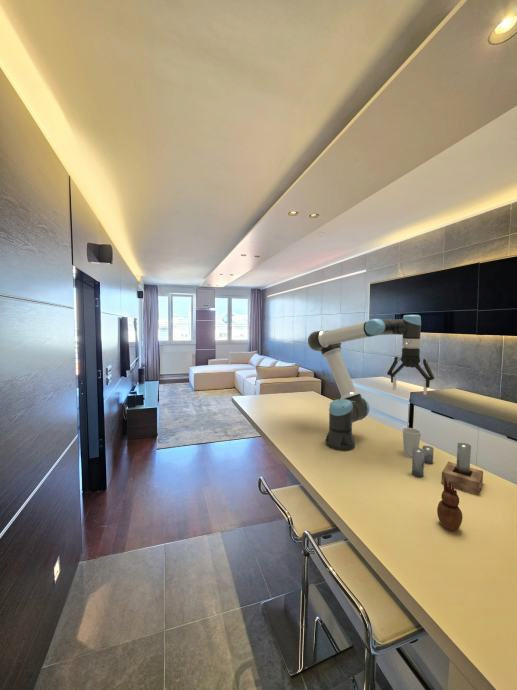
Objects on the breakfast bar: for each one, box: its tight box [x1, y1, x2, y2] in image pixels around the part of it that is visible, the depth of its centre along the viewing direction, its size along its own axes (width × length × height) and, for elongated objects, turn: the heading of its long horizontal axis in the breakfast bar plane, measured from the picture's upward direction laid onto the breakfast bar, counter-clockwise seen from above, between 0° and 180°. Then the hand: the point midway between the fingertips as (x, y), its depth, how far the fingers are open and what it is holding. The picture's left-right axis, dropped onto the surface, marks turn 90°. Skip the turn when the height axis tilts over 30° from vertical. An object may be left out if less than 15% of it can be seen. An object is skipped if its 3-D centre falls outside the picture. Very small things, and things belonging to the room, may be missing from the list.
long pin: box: [456, 442, 472, 476], centre depth 118 cm, size 4×4×16 cm
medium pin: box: [411, 447, 425, 479], centre depth 125 cm, size 4×4×11 cm
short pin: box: [422, 445, 435, 465], centre depth 137 cm, size 4×4×7 cm
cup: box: [402, 427, 422, 458], centre depth 144 cm, size 8×8×12 cm
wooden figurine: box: [436, 478, 463, 531], centre depth 93 cm, size 7×6×15 cm
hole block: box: [441, 461, 484, 496], centre depth 118 cm, size 12×12×5 cm
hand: (409, 391), depth 141 cm, fingers open, 13 cm apart
